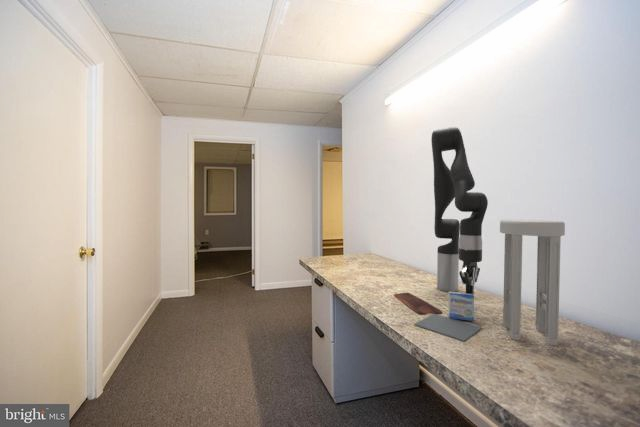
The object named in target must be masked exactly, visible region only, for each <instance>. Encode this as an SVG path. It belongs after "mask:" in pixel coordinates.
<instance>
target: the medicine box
mask: <svg viewBox="0 0 640 427" xmlns="http://www.w3.org/2000/svg"><path fill="white" fill-rule="evenodd" d="M448 318H452V319H455V320H459V321H470V322H474V321H475V296H474V295H473V294H468V293H466V292H458V291H455V292H448Z"/></svg>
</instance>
